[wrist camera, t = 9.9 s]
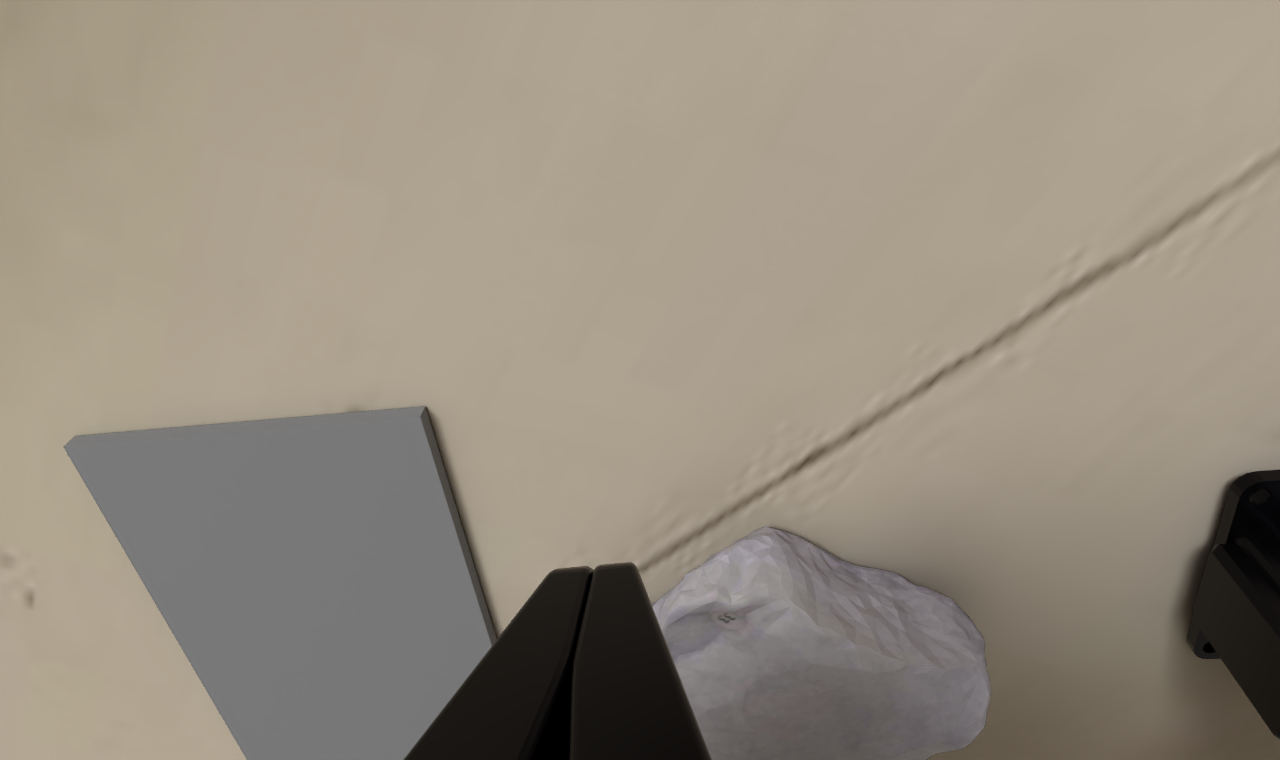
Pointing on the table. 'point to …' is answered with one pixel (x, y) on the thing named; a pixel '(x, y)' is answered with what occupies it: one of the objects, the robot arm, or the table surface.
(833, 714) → the stone block
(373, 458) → the mat
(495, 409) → the table surface
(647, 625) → the robot arm
